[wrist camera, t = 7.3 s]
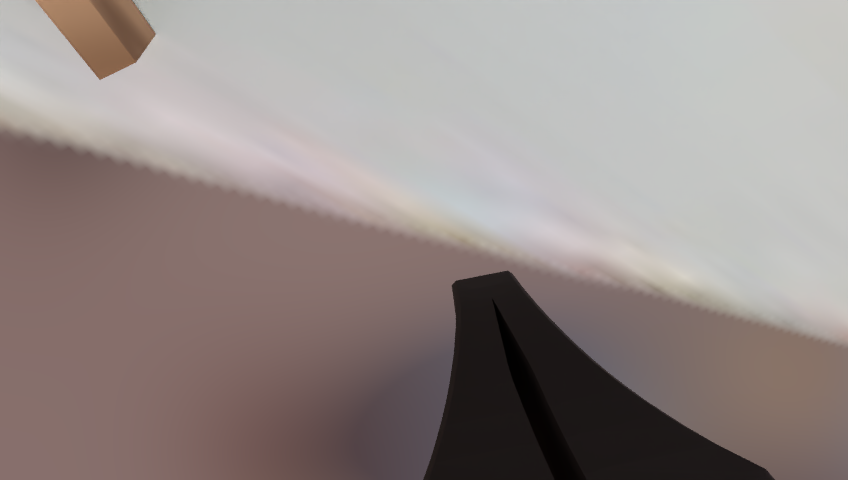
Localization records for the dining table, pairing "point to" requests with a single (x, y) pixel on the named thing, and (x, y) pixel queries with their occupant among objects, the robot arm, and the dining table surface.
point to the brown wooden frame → (101, 31)
